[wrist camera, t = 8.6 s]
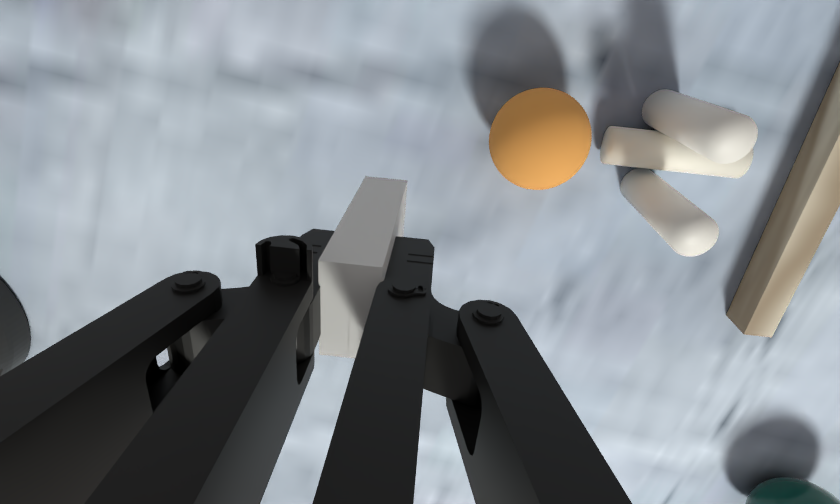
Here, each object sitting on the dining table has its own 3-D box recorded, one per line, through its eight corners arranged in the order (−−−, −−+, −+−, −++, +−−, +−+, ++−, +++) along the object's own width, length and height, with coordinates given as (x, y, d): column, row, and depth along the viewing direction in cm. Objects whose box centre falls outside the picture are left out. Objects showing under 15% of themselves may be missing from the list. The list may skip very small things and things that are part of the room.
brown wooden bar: (726, 315, 37) (743, 334, 34) (890, -51, 26) (931, -57, 24) (752, 317, 36) (771, 337, 34) (927, -47, 26) (972, -54, 24)
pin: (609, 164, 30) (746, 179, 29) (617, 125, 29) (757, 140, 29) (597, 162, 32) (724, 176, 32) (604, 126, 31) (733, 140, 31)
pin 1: (637, 126, 31) (696, 161, 23) (647, 87, 30) (713, 111, 22) (674, 129, 31) (746, 166, 23) (686, 90, 30) (765, 115, 22)
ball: (596, 203, 27) (563, 181, 33) (618, 92, 25) (579, 90, 31) (492, 197, 27) (477, 176, 32) (507, 84, 25) (487, 83, 30)
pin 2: (616, 199, 33) (664, 254, 25) (625, 166, 32) (679, 212, 24) (650, 202, 33) (709, 258, 25) (661, 169, 32) (725, 217, 24)
